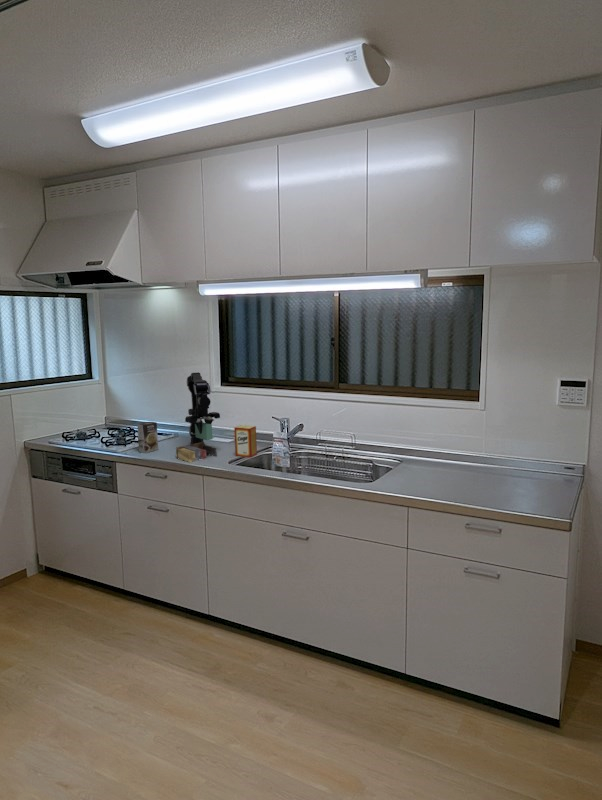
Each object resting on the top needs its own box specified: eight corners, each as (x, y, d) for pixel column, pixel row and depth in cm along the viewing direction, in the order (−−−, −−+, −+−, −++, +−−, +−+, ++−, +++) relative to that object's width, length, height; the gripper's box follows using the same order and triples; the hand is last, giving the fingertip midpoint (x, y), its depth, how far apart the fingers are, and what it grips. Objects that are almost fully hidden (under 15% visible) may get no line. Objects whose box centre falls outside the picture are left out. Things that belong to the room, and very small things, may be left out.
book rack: (203, 452, 310) (203, 441, 309) (216, 456, 301) (216, 445, 300) (176, 458, 299) (176, 447, 298) (189, 462, 290) (188, 451, 289)
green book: (201, 436, 306) (200, 421, 305) (212, 439, 298) (211, 424, 297) (195, 437, 304) (194, 422, 302) (207, 440, 296) (206, 425, 294)
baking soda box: (256, 454, 303) (255, 425, 300) (251, 457, 297) (249, 428, 294) (241, 453, 306) (240, 424, 304) (235, 456, 300) (234, 426, 298)
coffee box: (145, 453, 311) (143, 425, 309) (138, 451, 315) (136, 423, 313) (159, 449, 318) (157, 422, 316) (151, 448, 322) (149, 421, 320)
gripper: (208, 400, 310) (209, 428, 313) (178, 405, 298) (180, 433, 300) (219, 402, 302) (221, 431, 305) (190, 407, 290) (191, 436, 292)
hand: (203, 433), depth 301 cm, fingers closed on green book, 3 cm apart
